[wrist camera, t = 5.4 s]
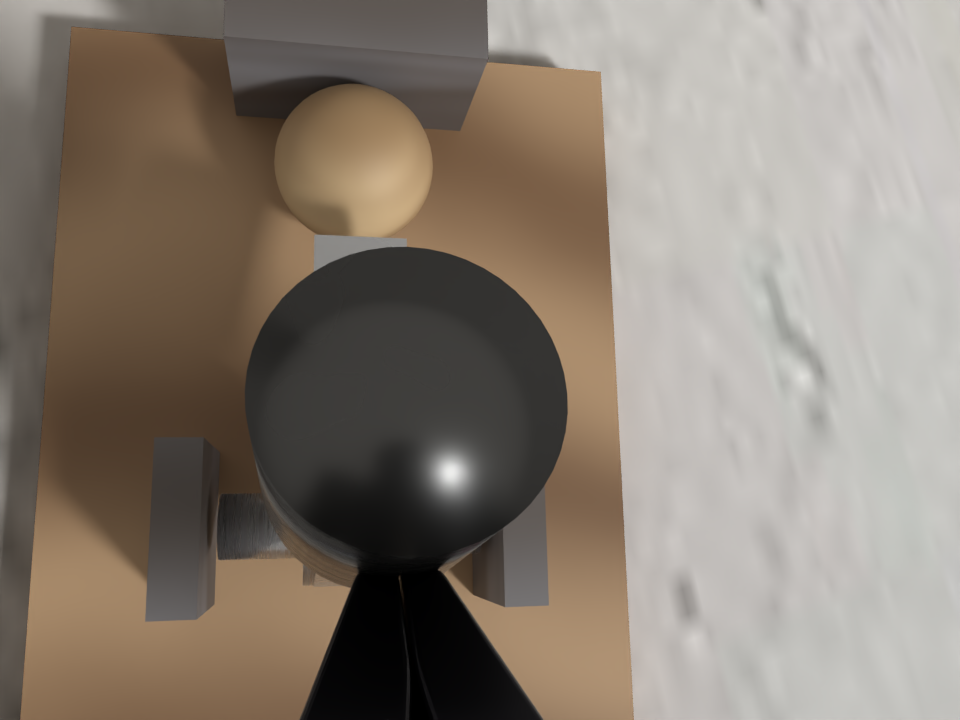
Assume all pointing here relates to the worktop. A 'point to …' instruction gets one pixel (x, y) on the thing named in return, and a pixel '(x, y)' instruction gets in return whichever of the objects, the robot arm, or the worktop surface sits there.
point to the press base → (243, 311)
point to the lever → (393, 415)
